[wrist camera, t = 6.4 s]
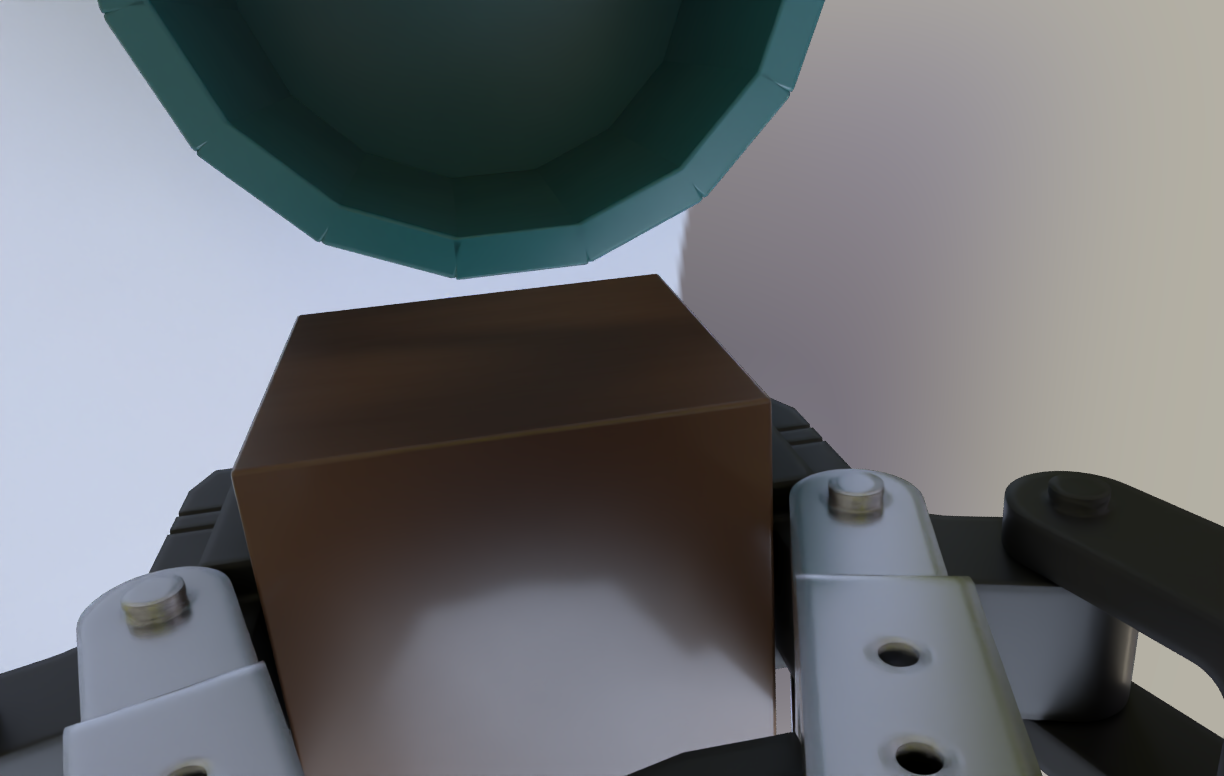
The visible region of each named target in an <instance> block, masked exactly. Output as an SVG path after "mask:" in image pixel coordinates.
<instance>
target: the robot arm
mask: <svg viewBox="0 0 1224 776" xmlns="http://www.w3.org/2000/svg"><path fill="white" fill-rule="evenodd" d="M770 399H771V405H772V474H773V544H774V614H775V669H778V668H784V667H787V668H788V669H789V671H790V673H791V726H792V732H790V733H785V734H780V735H774V736H768V737H763V738H758V739H752V740H747V741H742V742H736V743H731V744H726V745H720V746H715V747H709V748H704V749H699V750H693V751H688V752H683V753H680V754H678V755H675V756H673V757H670V758H668V759H666V760H663V761H661V762H658V763H656V764H653V765H651V766H648V767H646V768H643V769H641V770H638V771H636V772H633V773H631V774H628V775H626V776H1042V773H1041V770H1042V771H1043V772H1044V773H1046V774H1047V775H1048V776H1224V739H1223V738H1221V737H1220V736H1218V735H1217V734H1215V733H1213V732H1212V731H1210V730H1209V729H1207V728H1205V727H1204V726H1202V725H1201V724H1199V723H1197V722H1196V721H1194V720H1193V719H1191V718H1189V717H1188V716H1186V715H1185V714H1183V713H1182V712H1180V711H1178V710H1177V709H1175V708H1174V707H1172V706H1170V705H1169V704H1167V703H1166V702H1164V701H1162V700H1161V699H1159V698H1157V697H1156V696H1154V695H1153V694H1151V693H1150V692H1148V691H1146V690H1145V689H1143V688H1142V687H1140V686H1138V685H1137V684H1135V683H1134V682H1132V681H1131V680H1132V673H1133V666H1134V660H1135V653H1136V646H1137V639H1138V632H1141V633H1143V634H1145V635H1146V636H1148V637H1150V638H1151V639H1153V640H1155V641H1157V642H1159V643H1160V644H1162V645H1164V646H1165V647H1167V648H1169V649H1171V650H1172V651H1174V652H1176V653H1177V654H1179V655H1181V656H1183V657H1185V658H1186V659H1188V660H1190V661H1191V662H1193V663H1195V664H1196V665H1198V666H1199V667H1200V668H1202V669H1203V670H1204V671H1205V672H1206V673H1207V674H1208V675H1209V676H1210V677H1211V678H1212V679H1213V681H1214V682H1215V683H1216V685H1217V686H1218V688H1219V690H1220V692H1221V693H1222V696H1223V698H1224V527H1223V526H1221V525H1218V524H1216V523H1214V522H1212V521H1209V520H1207V519H1204V518H1202V517H1200V516H1198V515H1195V514H1193V513H1191V512H1189V511H1186V510H1184V509H1181V508H1179V507H1177V506H1175V505H1172V504H1170V503H1168V502H1166V501H1163V500H1161V499H1159V498H1156V497H1154V496H1152V495H1150V494H1147V493H1145V492H1143V491H1140V490H1138V489H1136V488H1133V487H1131V486H1129V485H1127V484H1124V483H1121V482H1119V481H1116V480H1113V479H1110V478H1107V477H1102V476H1098V475H1093V474H1087V473H1081V472H1070V471H1049V472H1040V473H1033V474H1030V475H1026V476H1023V477H1021V478H1018V479H1016V480H1015V481H1013V482H1012V483H1010V485H1009V486H1008V487H1007V488H1006V491H1005V498H1004V510H1003V517H969V516H942V515H934V514H929V513H928V510H927V507H926V504H925V501H924V498H923V496H922V494H921V492H920V491H919V490H918V489H917V488H916V487H915V486H913V485H912V484H911V483H909V482H907V481H906V480H904V479H902V478H899V477H897V476H894V475H890V474H887V473H883V472H878V471H873V470H864V469H851V468H850V466H848V464H847V463H846V462H845V461H844V460H843V459H842V458H841V457H840V456H839V455H838V454H837V453H836V452H835V451H834V450H833V449H832V447H831V446H830V445H829V444H828V443H827V442H826V441H822V437H821V436H820V435H819V434H818V433H817V432H816V431H815V429H814V428H810V424H809V423H808V422H807V421H806V420H805V419H804V418H803V417H802V416H801V415H800V414H799V413H798V412H797V410H795V408H793V407H790V406H788V405H786V404H783V403H781V402H779V401H776V400H774V399H772V398H770ZM232 469H233V468H231V469H224V470H216V471H215V472H213V473H212V474H211V475H209V476H208V477H207V478H206V479H204V480H203V481H202V482H201V483H199V484H198V485H197V486H195V487H194V488H193V489H192V490H190V491H189V493H188V495H187V497H186V499H185V501H184V503H183V505H182V507H181V509H180V511H179V517H176V519H175V521H174V523H173V525H172V527H171V529H170V535H167V537H166V539H165V541H164V543H163V545H162V547H161V549H160V551H159V554H158V556H157V558H156V560H155V562H154V564H153V566H152V568H151V570H150V572H149V573H148V574H145V575H142V576H139V577H136V578H134V579H132V580H129V581H127V582H124V583H122V584H120V585H118V586H116V587H114V588H113V589H111V590H109V591H108V592H106V593H104V594H103V595H101V596H100V597H99V598H97V599H96V600H95V601H93V602H92V603H91V604H90V605H89V606H88V607H87V608H86V609H85V610H84V612H83V613H82V614H81V616H80V618H79V620H78V622H77V628H76V632H77V647H76V648H73V649H71V650H69V651H66V652H64V653H62V654H59V655H56V656H53V657H51V658H48V659H45V660H42V661H39V662H36V663H32V664H29V665H26V666H23V667H20V668H17V669H14V670H11V671H8V672H5V673H2V674H0V776H305V775H304V772H303V769H302V766H301V763H300V760H299V757H298V755H297V752H296V749H295V746H294V742H293V738H292V733H291V729H290V725H289V721H288V716H287V712H286V708H285V704H284V700H283V695H282V691H281V687H280V683H279V678H278V674H277V670H276V666H275V661H274V657H273V653H272V649H271V644H270V640H269V636H268V632H267V628H266V623H265V619H264V615H263V611H262V606H261V602H260V598H259V594H258V589H257V585H256V581H255V577H254V572H253V568H252V564H251V560H250V556H249V551H248V547H247V543H246V539H245V534H244V530H243V526H242V522H241V517H240V513H239V509H238V505H237V500H236V496H235V492H234V488H233V484H232V479H231V471H232Z"/></svg>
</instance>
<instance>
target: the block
mask: <svg viewBox="0 0 1224 776" xmlns="http://www.w3.org/2000/svg"><path fill="white" fill-rule="evenodd" d="M231 479H232V484H233V488H234V492H235V496H236V500H237V505H238V509H239V513H240V517H241V522H242V526H243V530H244V534H245V539H246V543H247V547H248V551H249V556H250V560H251V564H252V568H253V572H254V577H255V581H256V585H257V589H258V594H259V598H260V602H261V606H262V611H263V615H264V619H265V623H266V628H267V632H268V636H269V640H270V644H271V649H272V653H273V657H274V661H275V666H276V670H277V674H278V678H279V683H280V687H281V691H282V695H283V700H284V704H285V708H286V712H287V716H288V721H289V725H290V729H291V733H292V738H293V742H294V746H295V749H296V752H297V755H298V757H299V760H300V763H301V766H302V769H303V772H304V775H305V776H626V775H628V774H631V773H633V772H636V771H638V770H641V769H643V768H646V767H648V766H651V765H653V764H656V763H658V762H661V761H663V760H666V759H668V758H670V757H673V756H675V755H678V754H680V753H683V752H688V751H693V750H699V749H704V748H709V747H715V746H720V745H726V744H731V743H736V742H742V741H747V740H752V739H758V738H763V737H768V736H774V735H776V690H775V689H776V683H775V614H774V544H773V474H772V405H771V399H770V397H769V396H768V395H767V394H766V393H765V392H764V391H763V390H762V389H761V388H760V386H759V385H758V384H757V383H756V382H755V381H754V380H753V379H752V378H751V377H750V375H749V374H748V373H747V372H746V371H745V370H744V369H743V368H742V367H741V365H740V364H739V363H738V362H737V361H736V360H735V359H734V358H733V357H732V356H731V354H730V353H729V352H728V351H727V350H726V349H725V348H724V347H723V346H722V344H720V342H719V341H718V340H717V339H716V338H715V337H714V336H713V335H712V334H711V332H710V331H709V330H708V329H707V328H706V327H705V326H704V325H703V324H702V322H701V321H700V320H699V319H698V318H697V317H696V316H695V315H694V314H693V313H692V311H691V310H690V309H689V308H688V307H687V306H686V305H685V304H684V303H683V301H682V300H681V299H680V298H679V297H678V296H677V295H676V294H675V293H674V292H673V290H672V289H671V288H670V287H669V286H668V285H667V284H666V283H665V282H664V281H663V279H662V278H661V277H660V276H659V275H657V274H651V275H642V276H634V277H625V278H617V279H608V280H599V281H591V282H582V283H574V284H565V285H556V286H548V287H539V288H531V289H522V290H513V291H505V292H496V293H488V294H479V295H470V296H462V297H453V298H445V299H436V300H428V301H419V302H410V303H402V304H393V305H385V306H376V307H367V308H359V309H350V310H342V311H333V312H324V313H316V314H307V315H300V316H298V317H297V319H296V321H295V324H294V326H293V328H292V331H291V333H290V335H289V338H288V340H287V342H286V345H285V347H284V349H283V352H282V354H281V356H280V359H279V361H278V363H277V366H276V368H275V370H274V373H273V375H272V377H271V380H270V382H269V384H268V387H267V389H266V391H265V394H264V396H263V398H262V401H261V403H260V406H259V408H258V410H257V413H256V415H255V417H254V420H253V422H252V424H251V427H250V429H249V431H248V434H247V436H246V438H245V441H244V443H243V445H242V448H241V450H240V452H239V455H238V457H237V459H236V462H235V464H234V466H233V469H232V471H231Z"/></svg>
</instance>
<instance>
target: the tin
mask: <svg viewBox="0 0 1224 776" xmlns="http://www.w3.org/2000/svg"><path fill="white" fill-rule="evenodd" d="M824 2H825V0H98V4H99V8H100V10H101V12H102V13H104V14H105V15H104V18H105V21H106V22H107V24H108V25H109V27H110V28H111V30H112V31H113V33H114V34H115V36H116V37H117V39H118V40H119V42H120V43H121V45H122V46H123V48H124V49H125V50H126V52H127V53H128V55H129V56H130V58H131V59H132V61H133V62H134V64H135V65H136V67H137V68H138V70H139V71H140V73H141V74H142V76H143V77H144V79H145V80H146V81H147V83H148V84H149V86H150V87H151V89H152V90H153V92H154V93H155V95H156V96H157V98H158V99H159V101H160V102H161V104H162V105H163V107H164V108H165V110H166V111H167V112H168V114H169V115H170V117H171V118H172V120H173V121H174V123H175V124H176V126H177V127H178V129H179V130H180V132H181V133H182V135H183V136H184V138H185V139H186V141H187V142H188V143H189V145H190V146H191V148H192V149H193V150H195V151H197V155H198V156H199V157H200V158H201V159H203V160H204V161H206V162H207V163H208V164H210V165H211V166H213V167H214V168H215V169H217V170H218V171H220V172H221V173H222V174H224V175H225V176H226V177H228V178H229V179H231V180H232V181H233V182H235V183H236V184H238V185H239V186H240V187H242V188H243V189H245V190H246V191H247V192H249V193H250V194H252V195H253V196H254V197H256V198H257V199H258V200H260V201H261V202H263V203H264V204H265V205H267V206H268V207H270V208H271V209H272V210H274V211H275V212H277V213H278V214H279V215H281V216H282V217H283V218H285V219H286V220H288V221H289V222H290V223H292V224H293V225H295V226H296V227H297V228H299V229H300V230H302V231H303V232H304V233H306V234H307V235H308V236H310V237H311V238H313V239H314V240H315V241H317V242H321V241H322V243H324V244H325V245H328V246H332V247H336V248H340V249H343V250H347V251H351V252H355V253H358V254H362V255H366V256H370V257H373V258H377V259H381V260H385V261H388V262H392V263H396V264H400V265H403V266H407V267H411V268H415V269H419V270H422V271H426V272H430V273H434V274H437V275H441V276H445V277H449V278H455V277H456V279H458V280H460V279H469V278H477V277H485V276H494V275H502V274H510V273H519V272H527V271H535V270H543V269H552V268H560V267H568V266H577V265H585V264H588V261H589V262H591V261H594V260H596V259H598V258H599V257H601V256H603V255H605V254H607V253H609V252H610V251H612V250H614V249H616V248H618V247H619V246H621V245H623V244H625V243H627V242H628V241H630V240H632V239H634V238H636V237H638V236H639V235H641V234H643V233H645V232H647V231H648V230H650V229H652V228H654V227H656V226H657V225H659V224H661V223H663V222H665V221H666V220H668V219H670V218H672V217H674V216H676V215H677V214H679V213H681V212H683V211H685V210H686V209H688V208H690V207H692V206H694V205H695V204H697V203H699V202H700V201H701V200H702V197H706V196H708V194H709V193H710V192H711V191H712V190H713V188H714V187H715V186H716V185H717V183H718V182H719V181H720V180H721V179H722V178H723V176H724V175H725V174H726V173H727V172H728V170H729V169H730V168H731V167H732V166H733V164H734V163H735V162H736V161H737V160H738V158H739V157H740V156H741V155H742V153H743V152H744V151H745V150H746V149H747V147H748V146H749V145H750V144H751V143H752V141H753V140H754V139H755V138H756V136H757V135H758V134H759V133H760V132H761V130H762V129H763V128H764V127H765V126H766V124H767V123H768V122H769V121H770V120H771V118H772V117H773V116H774V115H775V114H776V112H777V111H778V110H779V109H780V108H781V106H782V105H783V104H784V103H785V102H786V100H787V99H788V98H789V96H790V92H792V91H793V89H794V87H795V84H796V81H797V79H798V75H799V73H800V70H801V67H802V64H803V61H804V59H805V56H806V53H807V50H808V47H809V44H810V41H811V38H812V36H813V33H814V30H815V27H816V24H817V22H818V19H819V16H820V13H821V10H822V7H823V4H824Z"/></svg>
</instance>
